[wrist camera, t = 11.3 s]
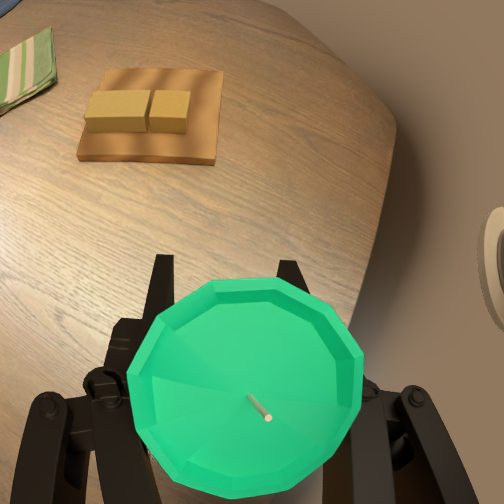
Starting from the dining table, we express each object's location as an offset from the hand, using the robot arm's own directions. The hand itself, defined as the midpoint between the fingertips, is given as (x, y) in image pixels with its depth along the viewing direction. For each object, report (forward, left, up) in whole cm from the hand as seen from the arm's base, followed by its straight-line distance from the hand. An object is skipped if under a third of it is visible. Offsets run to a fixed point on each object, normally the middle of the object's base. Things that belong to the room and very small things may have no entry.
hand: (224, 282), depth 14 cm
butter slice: (+6, -20, -15) cm, 26 cm away
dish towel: (+38, -30, -16) cm, 51 cm away
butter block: (+12, -20, -15) cm, 27 cm away
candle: (0, +4, -4) cm, 5 cm away
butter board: (+8, -22, -16) cm, 29 cm away
